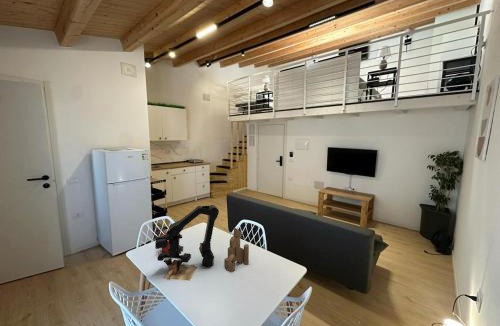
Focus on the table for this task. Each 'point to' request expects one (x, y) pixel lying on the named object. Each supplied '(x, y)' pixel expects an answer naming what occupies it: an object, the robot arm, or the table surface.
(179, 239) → the plant pot
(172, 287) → the table surface
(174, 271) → the brown block with peg
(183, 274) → the board
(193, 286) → the table surface
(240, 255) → the wooden toy
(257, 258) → the table surface
